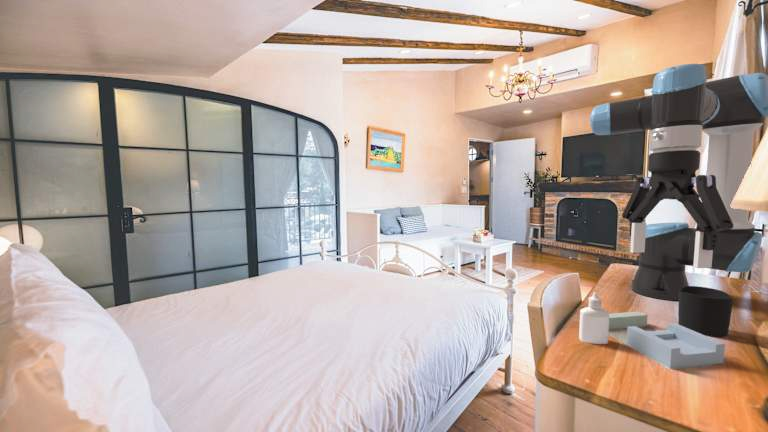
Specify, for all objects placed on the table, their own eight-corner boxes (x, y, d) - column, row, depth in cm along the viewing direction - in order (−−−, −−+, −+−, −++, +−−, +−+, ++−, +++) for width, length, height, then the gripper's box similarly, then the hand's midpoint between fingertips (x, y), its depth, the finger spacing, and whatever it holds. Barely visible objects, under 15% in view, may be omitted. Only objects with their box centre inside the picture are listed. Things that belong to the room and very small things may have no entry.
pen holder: (741, 338, 77) (744, 297, 76) (707, 342, 75) (711, 300, 74) (696, 321, 86) (699, 284, 85) (666, 325, 84) (668, 287, 83)
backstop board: (638, 324, 85) (638, 311, 85) (727, 366, 65) (728, 350, 65) (592, 328, 83) (592, 314, 83) (669, 372, 64) (670, 355, 63)
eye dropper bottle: (606, 350, 72) (608, 298, 71) (577, 342, 76) (579, 292, 75) (609, 343, 76) (611, 292, 74) (581, 336, 79) (583, 287, 78)
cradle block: (673, 339, 75) (674, 322, 75) (723, 363, 65) (725, 343, 65) (626, 343, 74) (627, 326, 73) (670, 368, 64) (671, 348, 64)
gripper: (606, 156, 75) (602, 247, 77) (729, 142, 50) (717, 276, 52) (636, 156, 76) (631, 247, 78) (772, 142, 51) (760, 275, 53)
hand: (666, 259), depth 65 cm, fingers open, 13 cm apart
